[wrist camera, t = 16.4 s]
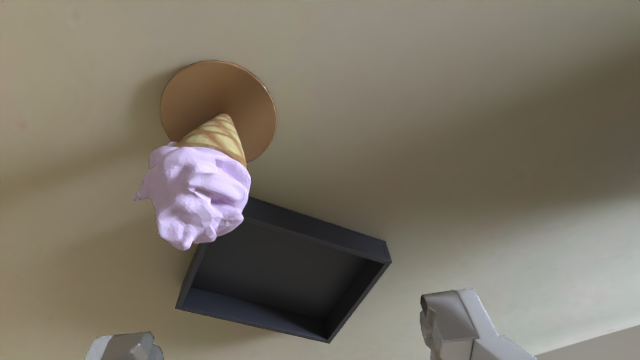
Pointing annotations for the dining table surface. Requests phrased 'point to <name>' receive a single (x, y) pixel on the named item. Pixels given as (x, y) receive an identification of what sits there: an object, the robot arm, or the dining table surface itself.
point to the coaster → (219, 104)
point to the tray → (284, 273)
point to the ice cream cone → (198, 184)
